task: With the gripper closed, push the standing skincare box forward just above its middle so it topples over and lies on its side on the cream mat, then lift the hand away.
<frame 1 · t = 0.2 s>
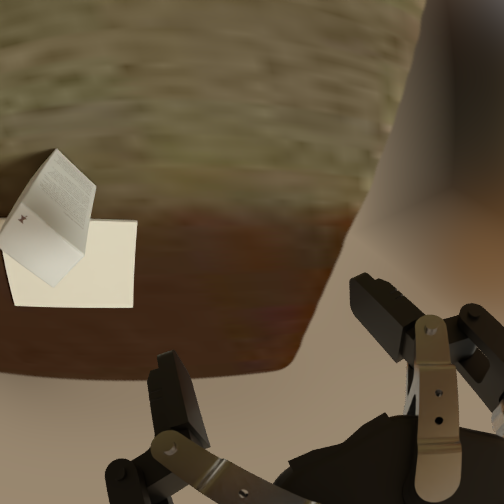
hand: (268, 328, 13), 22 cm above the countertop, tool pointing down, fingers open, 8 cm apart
skincare box: (64, 181, 27), on the countertop
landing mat: (67, 265, 32), on the countertop
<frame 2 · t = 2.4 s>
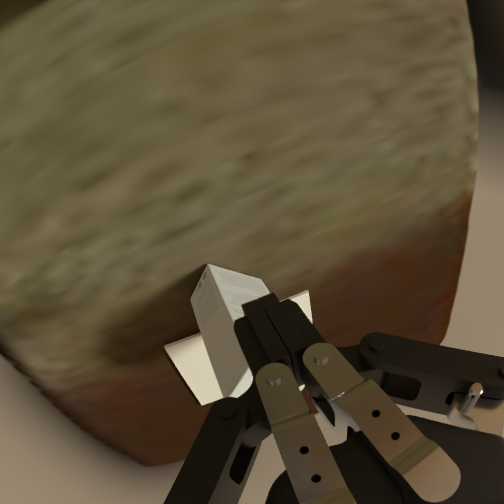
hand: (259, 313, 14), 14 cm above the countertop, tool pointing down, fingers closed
skincare box: (225, 287, 30), on the countertop
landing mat: (248, 353, 36), on the countertop
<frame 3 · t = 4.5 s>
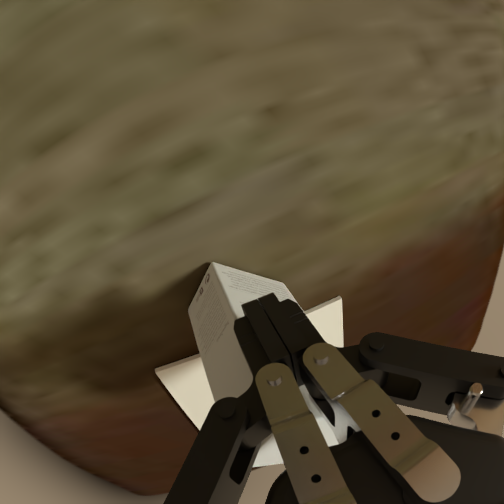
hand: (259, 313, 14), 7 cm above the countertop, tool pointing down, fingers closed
skincare box: (236, 294, 23), on the countertop, touching gripper
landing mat: (263, 376, 28), on the countertop
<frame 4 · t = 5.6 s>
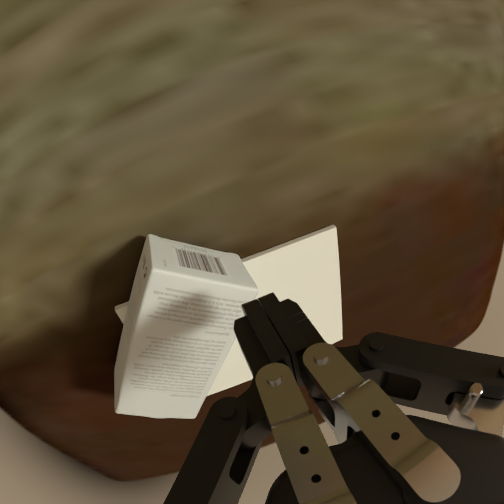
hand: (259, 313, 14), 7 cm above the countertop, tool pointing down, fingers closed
skincare box: (203, 255, 17), point 3 cm above the countertop, touching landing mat
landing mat: (246, 327, 24), on the countertop
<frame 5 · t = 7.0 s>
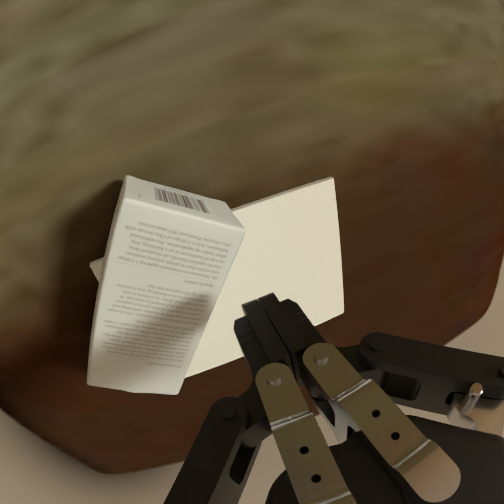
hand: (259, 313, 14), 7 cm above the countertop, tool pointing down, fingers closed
skincare box: (184, 194, 15), point 3 cm above the countertop, touching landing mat
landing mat: (237, 292, 22), on the countertop
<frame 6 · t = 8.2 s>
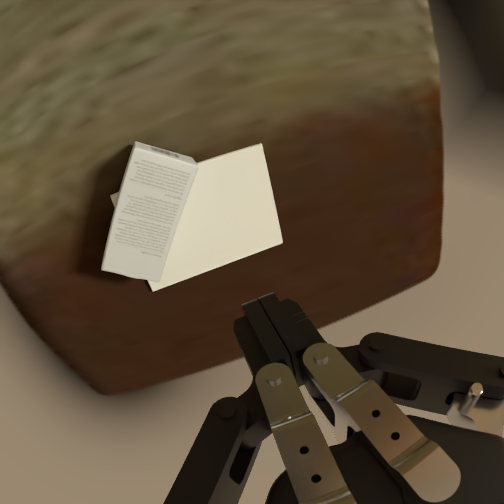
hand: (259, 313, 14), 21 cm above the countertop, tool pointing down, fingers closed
skincare box: (167, 149, 27), point 3 cm above the countertop, touching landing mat
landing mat: (202, 219, 34), on the countertop
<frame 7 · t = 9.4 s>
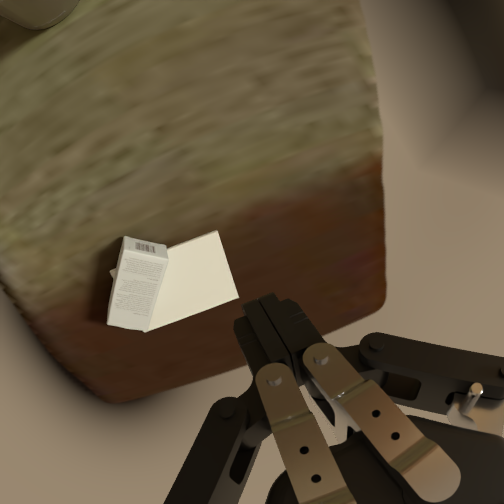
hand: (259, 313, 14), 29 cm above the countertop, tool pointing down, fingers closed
skincare box: (146, 245, 39), point 3 cm above the countertop, touching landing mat
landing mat: (176, 284, 46), on the countertop
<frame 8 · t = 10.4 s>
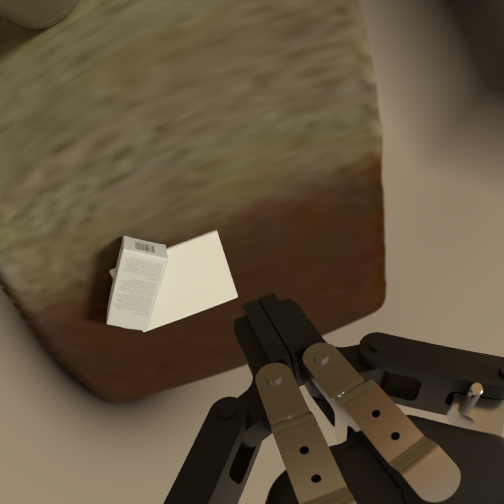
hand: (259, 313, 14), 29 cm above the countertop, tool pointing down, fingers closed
skincare box: (146, 244, 39), point 3 cm above the countertop, touching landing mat
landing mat: (176, 284, 46), on the countertop
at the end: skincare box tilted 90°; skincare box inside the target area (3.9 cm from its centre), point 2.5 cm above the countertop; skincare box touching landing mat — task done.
